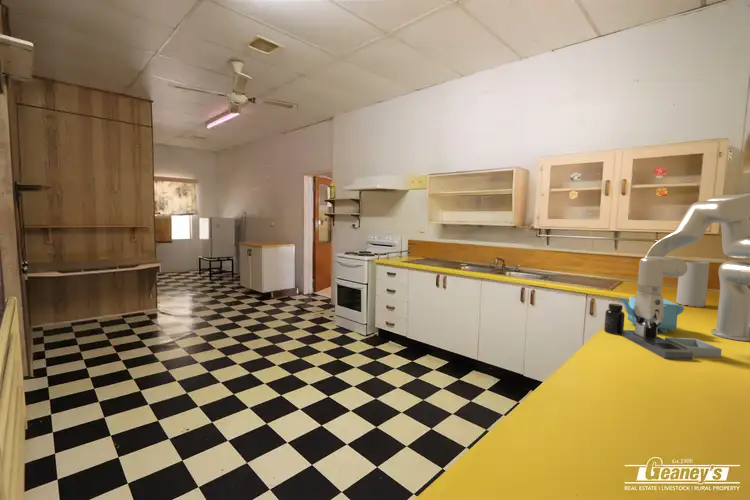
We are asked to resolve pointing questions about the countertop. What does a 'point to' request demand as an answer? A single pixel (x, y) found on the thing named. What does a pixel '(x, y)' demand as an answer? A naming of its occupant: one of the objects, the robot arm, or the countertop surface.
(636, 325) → the beige block with knob
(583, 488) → the countertop surface
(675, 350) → the rail
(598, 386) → the countertop surface
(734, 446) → the countertop surface
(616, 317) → the supplement bottle
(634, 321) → the teakettle
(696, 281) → the cylinder vase
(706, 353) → the parts tray
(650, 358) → the countertop surface
